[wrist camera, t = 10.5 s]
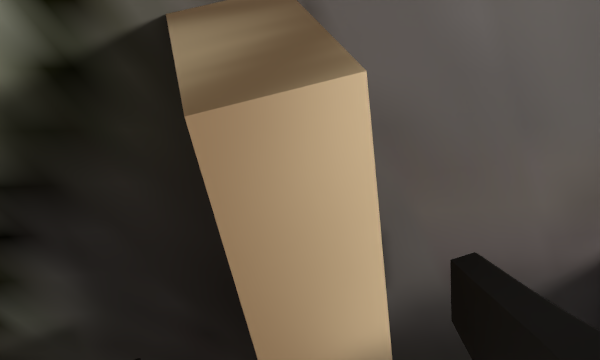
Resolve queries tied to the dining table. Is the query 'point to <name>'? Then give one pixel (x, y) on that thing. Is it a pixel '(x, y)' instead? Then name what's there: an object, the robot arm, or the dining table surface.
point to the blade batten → (287, 175)
